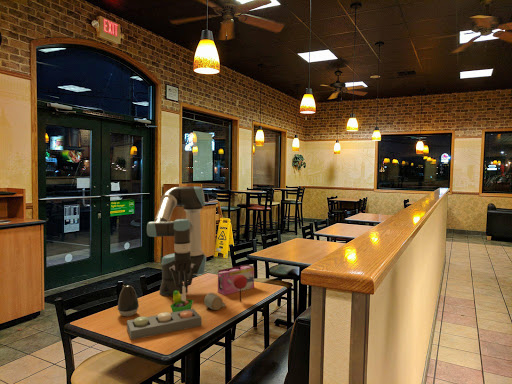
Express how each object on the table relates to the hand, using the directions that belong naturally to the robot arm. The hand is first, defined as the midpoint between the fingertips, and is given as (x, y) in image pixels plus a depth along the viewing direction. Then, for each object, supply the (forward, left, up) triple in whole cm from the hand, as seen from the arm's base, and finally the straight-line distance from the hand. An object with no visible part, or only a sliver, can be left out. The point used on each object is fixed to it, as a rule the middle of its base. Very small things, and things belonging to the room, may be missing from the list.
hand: (183, 300), depth 176 cm
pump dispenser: (-25, -22, -12) cm, 36 cm away
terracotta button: (0, +1, -9) cm, 9 cm away
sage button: (0, -20, -8) cm, 21 cm away
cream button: (0, -9, -8) cm, 12 cm away
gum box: (-35, +43, -12) cm, 57 cm away
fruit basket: (-15, +3, -12) cm, 19 cm away
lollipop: (-15, +37, -12) cm, 41 cm away
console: (0, -9, -11) cm, 15 cm away
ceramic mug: (-12, +21, -12) cm, 27 cm away
